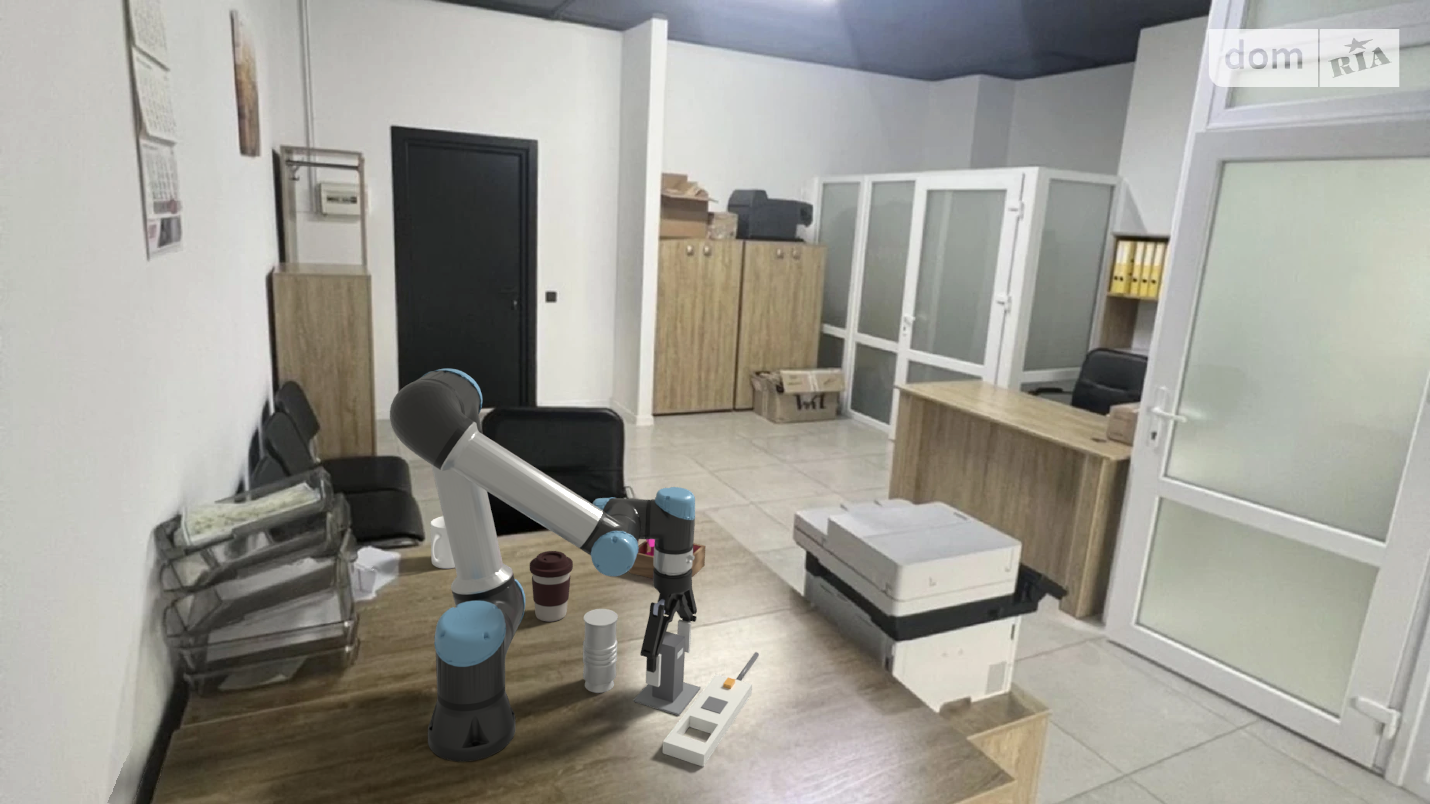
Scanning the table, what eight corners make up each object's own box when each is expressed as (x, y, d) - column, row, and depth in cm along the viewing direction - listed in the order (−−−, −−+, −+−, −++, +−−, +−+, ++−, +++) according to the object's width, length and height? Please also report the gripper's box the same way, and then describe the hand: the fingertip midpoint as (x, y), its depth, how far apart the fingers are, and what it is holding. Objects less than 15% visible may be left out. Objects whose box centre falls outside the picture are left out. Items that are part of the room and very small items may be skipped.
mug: (473, 556, 212) (472, 516, 209) (457, 574, 200) (456, 533, 198) (439, 553, 212) (438, 514, 210) (421, 572, 200) (420, 530, 198)
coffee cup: (577, 607, 187) (577, 549, 183) (565, 627, 177) (565, 567, 174) (537, 603, 188) (537, 546, 184) (523, 623, 178) (523, 563, 175)
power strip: (703, 766, 133) (704, 750, 133) (662, 753, 136) (663, 737, 136) (773, 660, 168) (774, 647, 167) (739, 651, 171) (740, 638, 170)
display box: (682, 586, 201) (683, 564, 199) (629, 572, 207) (629, 552, 205) (704, 565, 213) (705, 545, 212) (653, 554, 219) (653, 534, 218)
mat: (679, 715, 147) (679, 714, 147) (633, 701, 151) (633, 699, 151) (700, 688, 156) (700, 687, 156) (656, 675, 160) (656, 674, 160)
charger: (673, 702, 150) (675, 647, 148) (652, 696, 152) (654, 641, 149) (683, 690, 154) (685, 636, 152) (662, 684, 156) (664, 630, 154)
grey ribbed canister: (611, 672, 160) (613, 606, 157) (620, 690, 154) (621, 622, 151) (579, 677, 158) (580, 610, 154) (586, 696, 151) (587, 627, 148)
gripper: (660, 598, 135) (656, 705, 139) (716, 548, 157) (710, 642, 162) (623, 589, 137) (620, 694, 142) (683, 541, 160) (678, 633, 165)
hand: (668, 666), depth 152 cm, fingers open, 13 cm apart
